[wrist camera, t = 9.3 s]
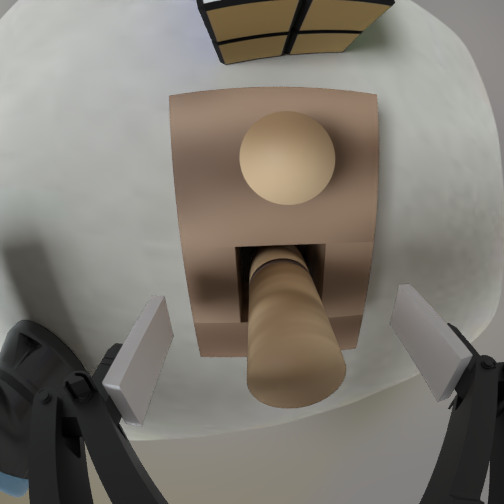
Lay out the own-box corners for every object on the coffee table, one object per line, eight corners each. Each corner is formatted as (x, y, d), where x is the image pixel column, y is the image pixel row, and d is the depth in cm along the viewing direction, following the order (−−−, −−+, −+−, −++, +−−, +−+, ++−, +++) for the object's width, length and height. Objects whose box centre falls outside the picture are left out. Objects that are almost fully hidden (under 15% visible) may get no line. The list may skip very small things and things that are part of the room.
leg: (263, 280, 24) (273, 417, 11) (241, 242, 23) (227, 367, 10) (305, 260, 23) (356, 386, 10) (285, 220, 22) (327, 326, 9)
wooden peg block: (337, 307, 25) (371, 384, 16) (210, 313, 25) (192, 395, 16) (345, 106, 19) (410, 83, 9) (191, 108, 19) (143, 81, 9)
